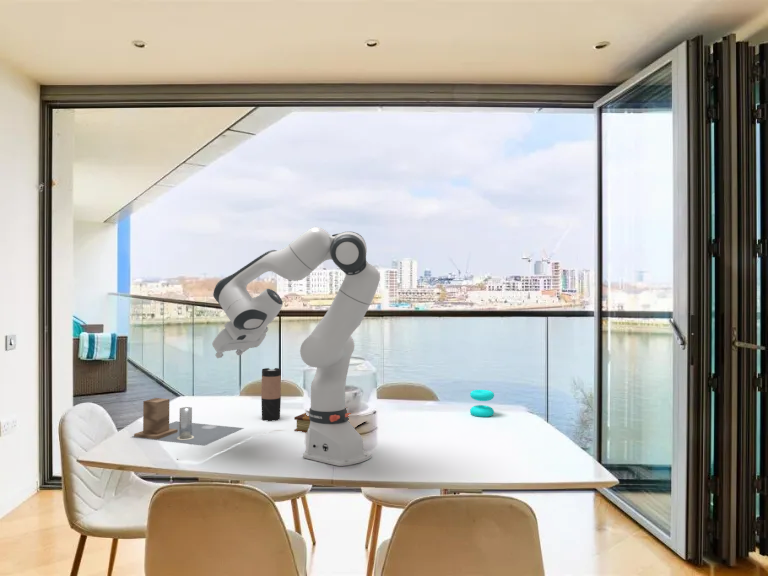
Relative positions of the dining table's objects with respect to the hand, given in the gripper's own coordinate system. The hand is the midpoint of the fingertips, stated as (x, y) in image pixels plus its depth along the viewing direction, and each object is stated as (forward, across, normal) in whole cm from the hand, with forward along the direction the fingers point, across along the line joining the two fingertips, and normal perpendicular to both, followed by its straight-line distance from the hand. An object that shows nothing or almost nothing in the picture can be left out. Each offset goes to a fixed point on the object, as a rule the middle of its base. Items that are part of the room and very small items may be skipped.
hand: (228, 355), depth 191 cm
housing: (+37, +11, +4) cm, 38 cm away
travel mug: (+26, -31, +16) cm, 44 cm away
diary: (+7, -34, +36) cm, 50 cm away
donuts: (-23, -84, +65) cm, 109 cm away
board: (+32, +3, +10) cm, 33 cm away
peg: (+28, +8, +12) cm, 32 cm away
